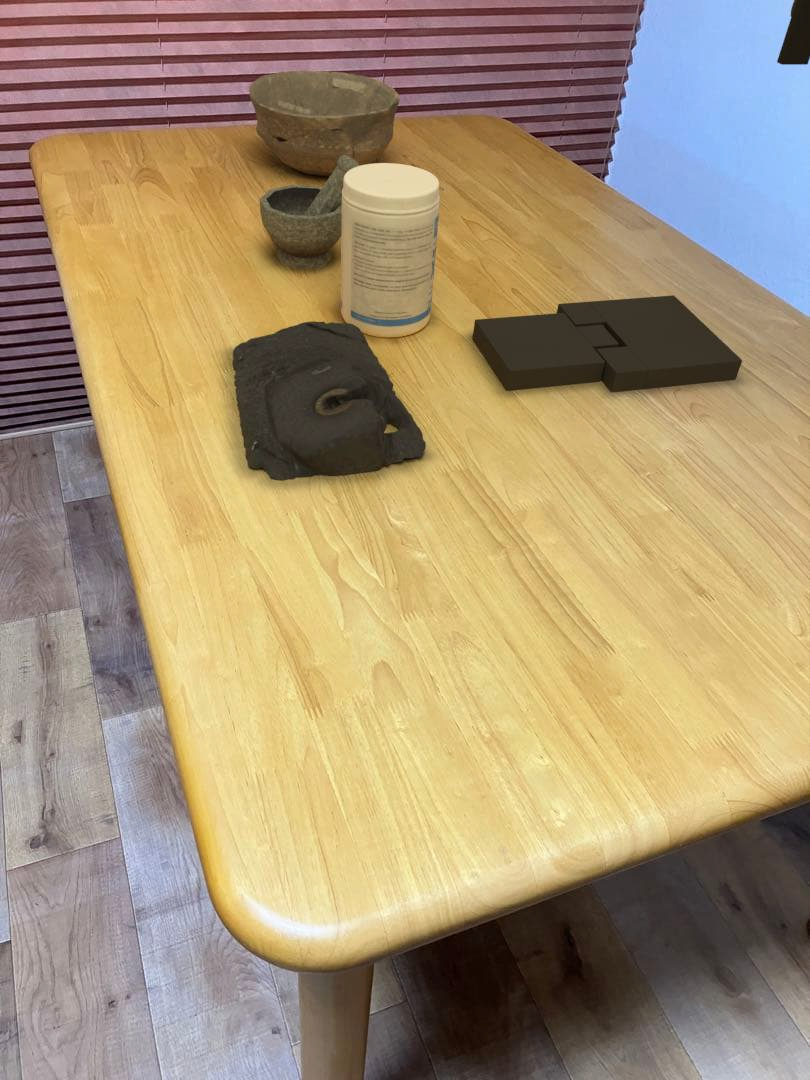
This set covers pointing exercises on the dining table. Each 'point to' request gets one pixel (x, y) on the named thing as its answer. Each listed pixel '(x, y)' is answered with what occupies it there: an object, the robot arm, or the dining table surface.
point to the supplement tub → (388, 248)
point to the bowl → (323, 118)
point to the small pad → (541, 350)
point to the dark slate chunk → (319, 404)
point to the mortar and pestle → (306, 219)
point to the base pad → (655, 343)
